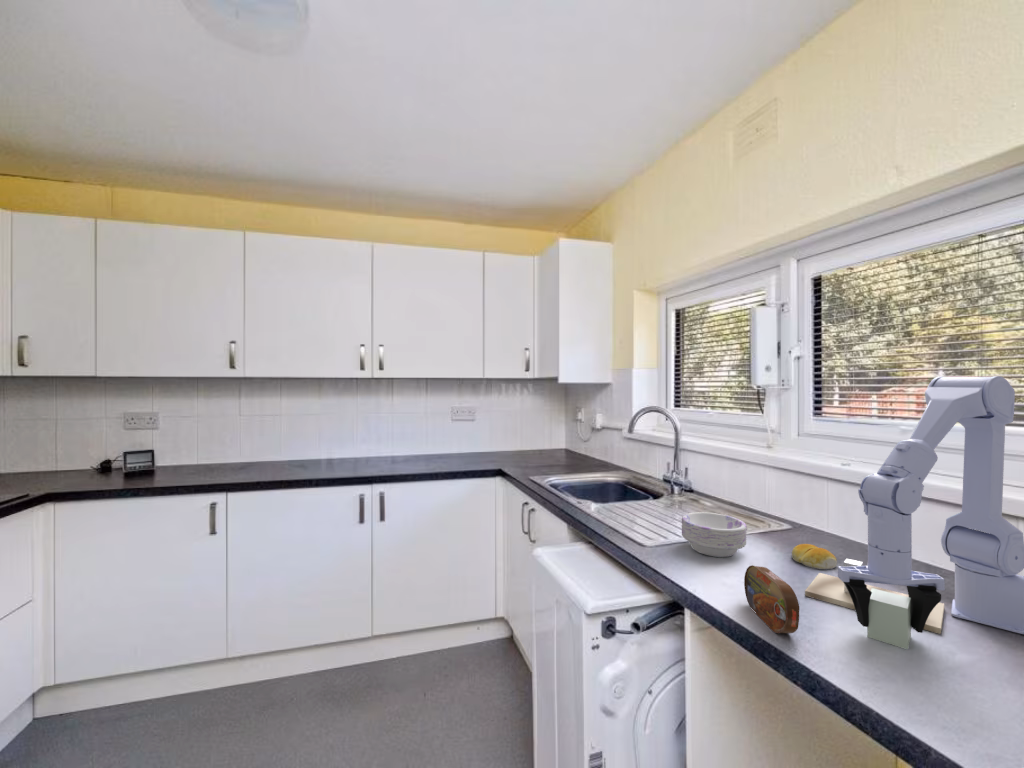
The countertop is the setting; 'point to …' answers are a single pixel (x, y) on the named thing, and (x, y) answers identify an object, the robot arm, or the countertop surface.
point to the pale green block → (890, 618)
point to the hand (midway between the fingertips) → (889, 626)
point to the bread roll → (814, 556)
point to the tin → (772, 599)
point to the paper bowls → (714, 533)
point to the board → (834, 593)
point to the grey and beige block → (848, 564)
